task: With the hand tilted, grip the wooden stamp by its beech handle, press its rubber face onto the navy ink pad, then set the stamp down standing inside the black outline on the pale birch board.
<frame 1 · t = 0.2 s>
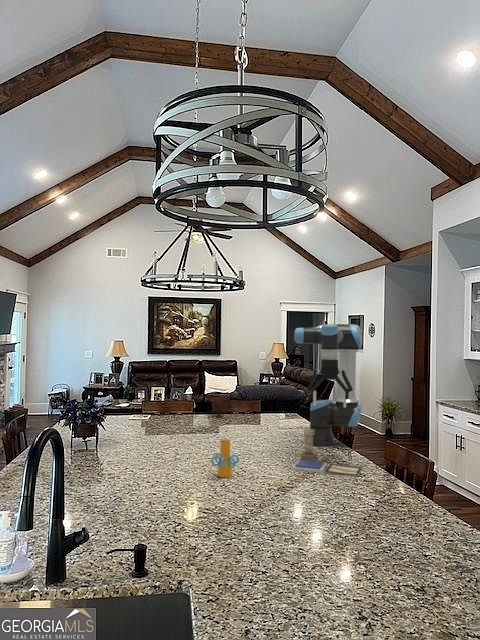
hand: (329, 406, 241), 27 cm above the worktop, tool pointing down, fingers open, 13 cm apart
stamp: (308, 460, 253), on the worktop
marked board: (343, 471, 235), on the worktop
ice cream bowl: (219, 417, 368), on the worktop
orange post with loops: (224, 476, 224), on the worktop
ink pad: (309, 467, 240), on the worktop
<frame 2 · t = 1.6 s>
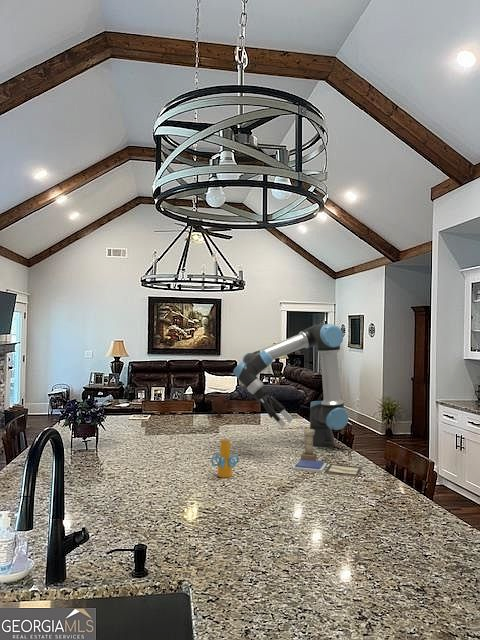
hand: (287, 423, 256), 17 cm above the worktop, tool tilted 45°, fingers open, 13 cm apart
nothing on the worktop moved.
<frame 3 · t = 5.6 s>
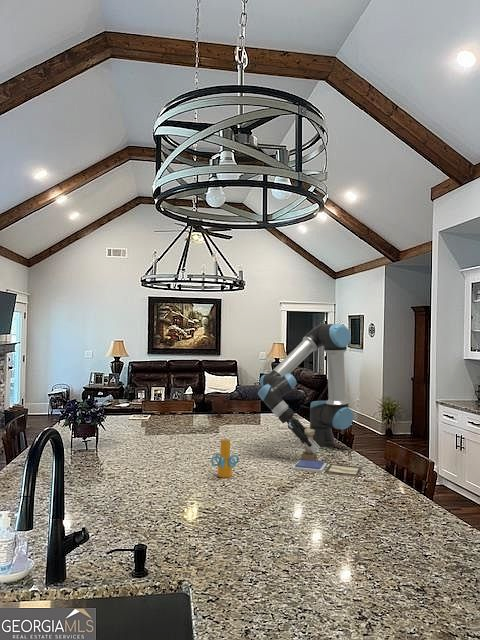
hand: (317, 450, 251), 5 cm above the worktop, tool tilted 45°, fingers closed on stamp, 4 cm apart
stamp: (308, 460, 253), on the worktop, touching gripper
everything else where it was.
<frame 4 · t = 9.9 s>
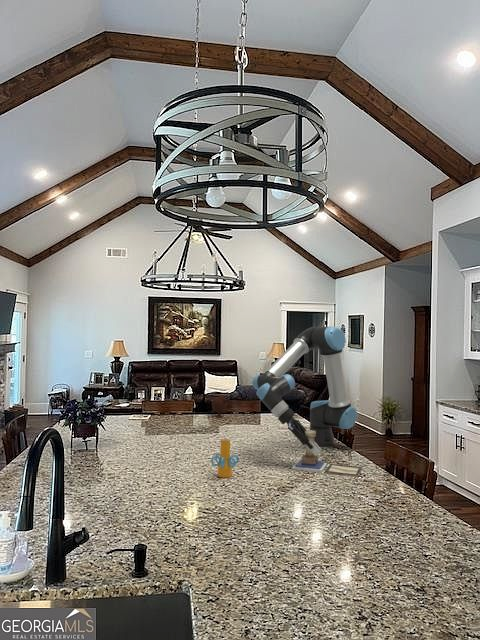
hand: (318, 452, 239), 7 cm above the worktop, tool tilted 45°, fingers closed on stamp, 4 cm apart
stamp: (309, 463, 240), point 2 cm above the worktop, touching gripper, ink pad
everything else where it was.
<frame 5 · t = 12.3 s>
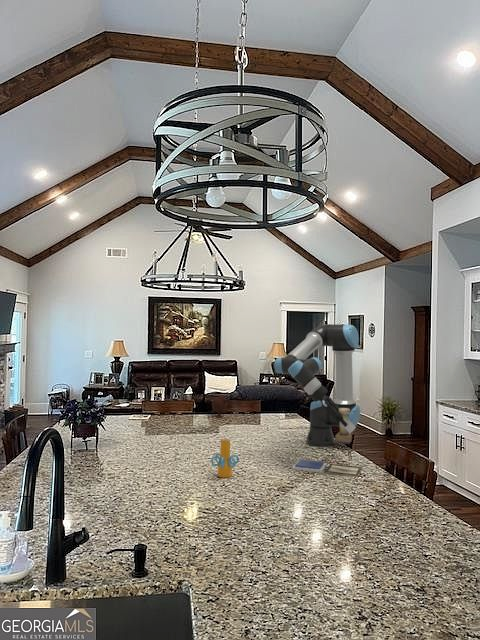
hand: (352, 430, 234), 18 cm above the worktop, tool tilted 45°, fingers closed on stamp, 4 cm apart
stamp: (343, 441, 236), point 13 cm above the worktop, touching gripper
everything else where it was.
when the fingers open (7 cm above the worktop, at t = 14.5 s): stamp drops 1 cm, resting on marked board.
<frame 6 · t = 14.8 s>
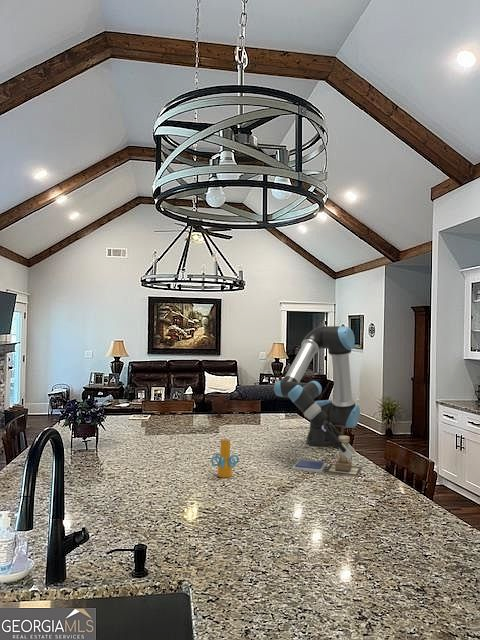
hand: (351, 455, 234), 7 cm above the worktop, tool tilted 45°, fingers open, 7 cm apart
stamp: (343, 469, 235), point 1 cm above the worktop, touching marked board
everything else where it was.
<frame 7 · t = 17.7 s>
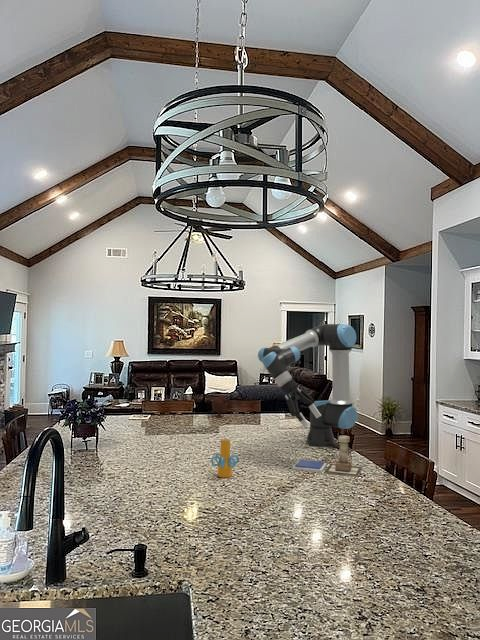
hand: (313, 421, 244), 20 cm above the worktop, tool tilted 35°, fingers open, 13 cm apart
nothing on the worktop moved.
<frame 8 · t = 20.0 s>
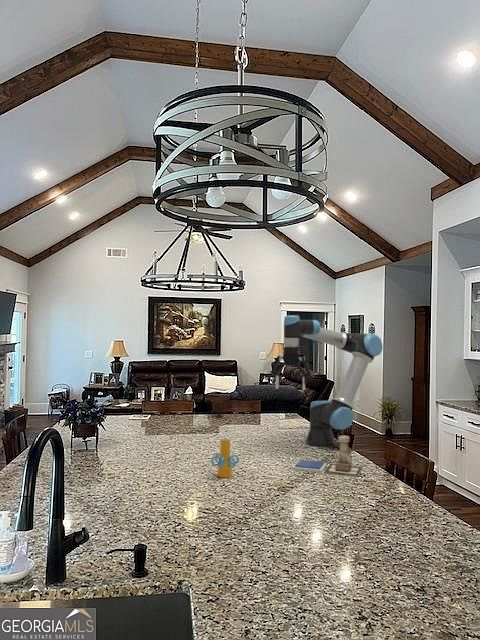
hand: (290, 389, 266), 32 cm above the worktop, tool pointing down, fingers open, 13 cm apart
nothing on the worktop moved.
at the end: stamp 0.1 cm off-centre on the marked board, point 0.6 cm above the marked board's base; stamp tilted 0°; the gripper is holding nothing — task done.
